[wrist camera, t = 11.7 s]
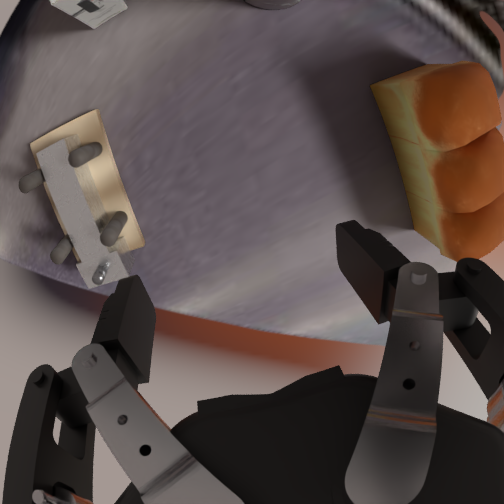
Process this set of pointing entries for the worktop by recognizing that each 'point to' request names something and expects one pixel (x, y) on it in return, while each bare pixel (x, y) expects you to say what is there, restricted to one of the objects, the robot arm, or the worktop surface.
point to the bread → (448, 154)
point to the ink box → (91, 10)
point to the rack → (103, 175)
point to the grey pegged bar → (83, 215)
